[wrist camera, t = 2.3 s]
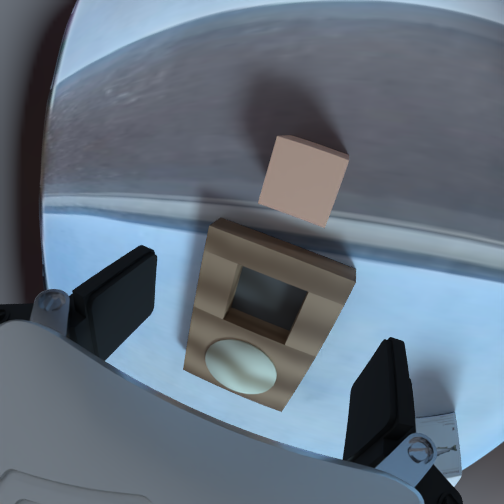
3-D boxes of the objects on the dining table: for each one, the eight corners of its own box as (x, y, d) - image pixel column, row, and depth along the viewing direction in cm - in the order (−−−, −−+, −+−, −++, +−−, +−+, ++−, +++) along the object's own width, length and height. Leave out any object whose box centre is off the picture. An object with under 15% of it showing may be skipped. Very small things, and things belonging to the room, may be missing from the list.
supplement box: (456, 410, 34) (464, 475, 23) (446, 434, 36) (450, 493, 25) (414, 416, 37) (415, 483, 26) (408, 439, 39) (406, 500, 28)
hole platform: (220, 217, 34) (207, 226, 31) (355, 269, 31) (355, 283, 28) (191, 357, 45) (182, 370, 42) (286, 397, 42) (280, 413, 39)
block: (290, 135, 28) (277, 135, 23) (348, 154, 27) (348, 160, 22) (274, 189, 31) (258, 203, 25) (329, 209, 30) (324, 227, 24)
